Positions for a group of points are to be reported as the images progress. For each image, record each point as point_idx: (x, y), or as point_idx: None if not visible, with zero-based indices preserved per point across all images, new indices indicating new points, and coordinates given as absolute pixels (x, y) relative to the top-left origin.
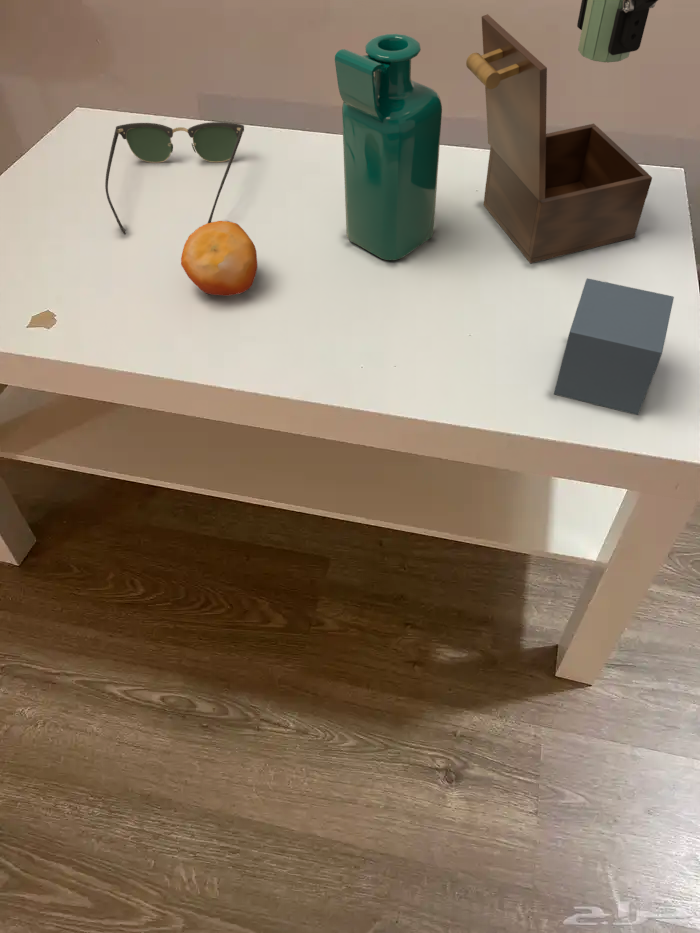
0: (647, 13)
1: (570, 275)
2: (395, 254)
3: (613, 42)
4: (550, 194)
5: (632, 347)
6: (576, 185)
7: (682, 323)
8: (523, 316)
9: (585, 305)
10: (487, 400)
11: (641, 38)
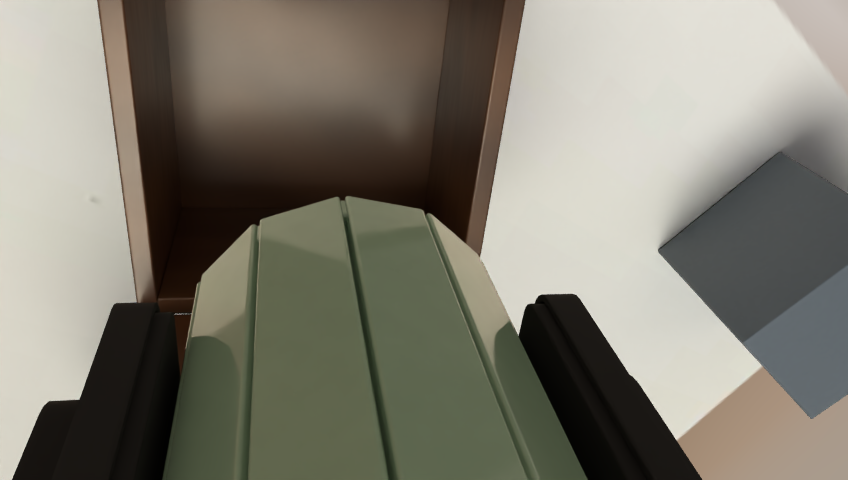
0: (674, 455)
1: (510, 156)
2: None
3: None
4: (201, 42)
5: None
6: None
7: (763, 26)
8: (559, 291)
9: (790, 376)
10: (670, 400)
11: (599, 331)
